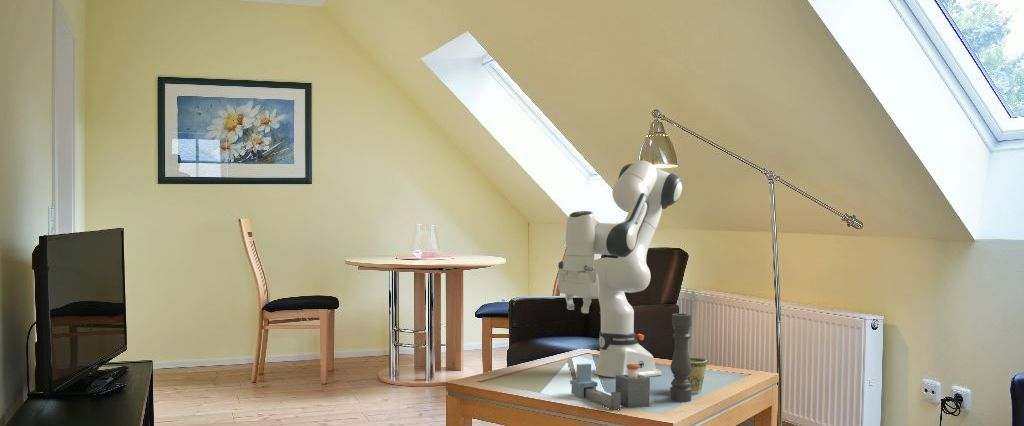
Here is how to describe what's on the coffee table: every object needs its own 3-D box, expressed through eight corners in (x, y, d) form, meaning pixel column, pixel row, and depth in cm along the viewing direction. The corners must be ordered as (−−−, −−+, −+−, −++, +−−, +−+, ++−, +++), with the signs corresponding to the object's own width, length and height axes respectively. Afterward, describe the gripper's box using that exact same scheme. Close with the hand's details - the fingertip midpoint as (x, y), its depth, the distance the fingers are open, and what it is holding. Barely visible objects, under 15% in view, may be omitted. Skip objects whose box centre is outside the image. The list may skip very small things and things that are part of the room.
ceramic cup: (699, 397, 265) (700, 363, 265) (668, 392, 270) (668, 360, 270) (714, 389, 276) (714, 357, 276) (683, 386, 281) (684, 354, 281)
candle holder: (667, 397, 263) (668, 313, 263) (687, 397, 264) (689, 313, 264) (673, 402, 257) (674, 315, 257) (693, 401, 258) (695, 315, 258)
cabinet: (636, 401, 258) (636, 373, 258) (649, 406, 251) (649, 378, 251) (615, 402, 255) (615, 375, 255) (627, 408, 248) (628, 379, 248)
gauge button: (634, 383, 255) (634, 363, 255) (640, 386, 252) (641, 365, 252) (624, 384, 254) (624, 364, 254) (630, 386, 251) (630, 366, 251)
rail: (580, 393, 268) (580, 376, 268) (620, 410, 246) (620, 392, 246) (573, 393, 267) (573, 376, 267) (612, 410, 245) (613, 392, 245)
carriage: (587, 391, 267) (588, 362, 267) (597, 395, 262) (597, 365, 262) (569, 393, 265) (570, 363, 265) (579, 397, 259) (579, 366, 259)
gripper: (605, 267, 257) (603, 315, 257) (573, 263, 276) (572, 307, 276) (585, 267, 255) (584, 315, 255) (555, 263, 274) (553, 307, 274)
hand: (577, 311), depth 265 cm, fingers open, 8 cm apart
